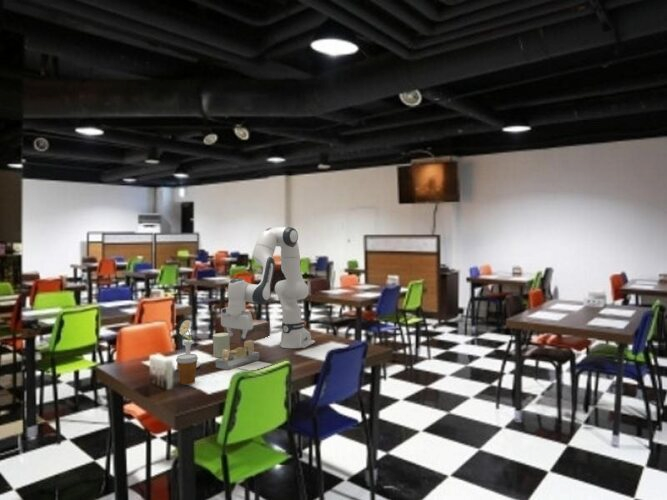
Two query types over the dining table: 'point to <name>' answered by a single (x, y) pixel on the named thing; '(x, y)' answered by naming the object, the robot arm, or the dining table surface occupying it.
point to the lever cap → (239, 352)
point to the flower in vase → (187, 343)
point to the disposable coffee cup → (187, 368)
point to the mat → (254, 366)
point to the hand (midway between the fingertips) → (236, 337)
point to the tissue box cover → (250, 332)
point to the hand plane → (232, 362)
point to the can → (220, 343)
